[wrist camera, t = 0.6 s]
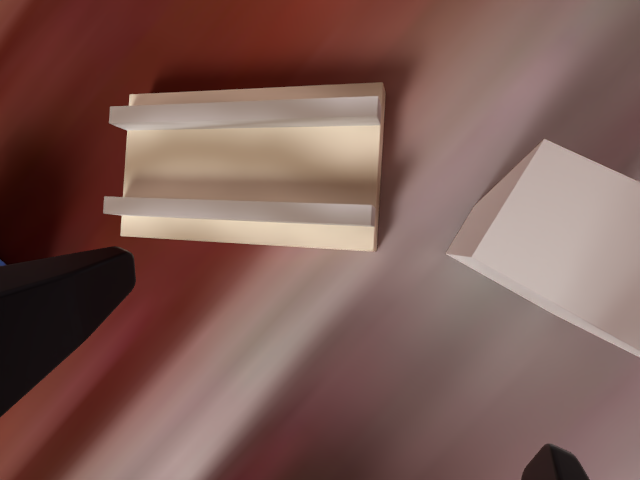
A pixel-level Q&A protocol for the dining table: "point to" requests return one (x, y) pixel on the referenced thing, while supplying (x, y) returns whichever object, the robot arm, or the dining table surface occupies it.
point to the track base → (254, 166)
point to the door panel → (562, 241)
